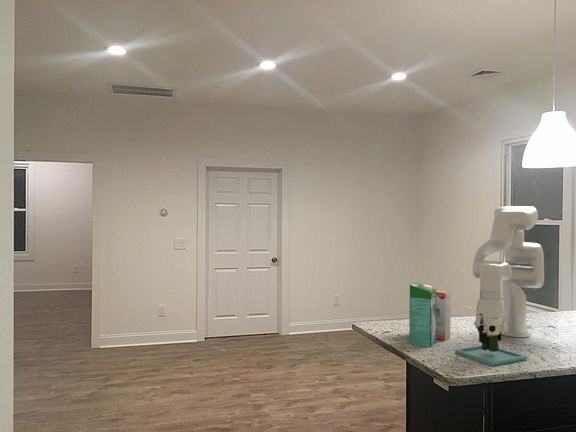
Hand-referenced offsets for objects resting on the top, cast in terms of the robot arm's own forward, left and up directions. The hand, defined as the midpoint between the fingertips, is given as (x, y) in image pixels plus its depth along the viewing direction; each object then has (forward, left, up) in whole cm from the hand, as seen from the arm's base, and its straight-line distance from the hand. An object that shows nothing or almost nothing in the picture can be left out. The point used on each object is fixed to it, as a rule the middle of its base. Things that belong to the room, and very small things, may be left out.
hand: (490, 341), depth 178 cm
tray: (0, 0, -6) cm, 6 cm away
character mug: (0, 0, -4) cm, 4 cm away
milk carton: (+10, -26, -6) cm, 29 cm away
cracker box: (-1, -32, -6) cm, 33 cm away
